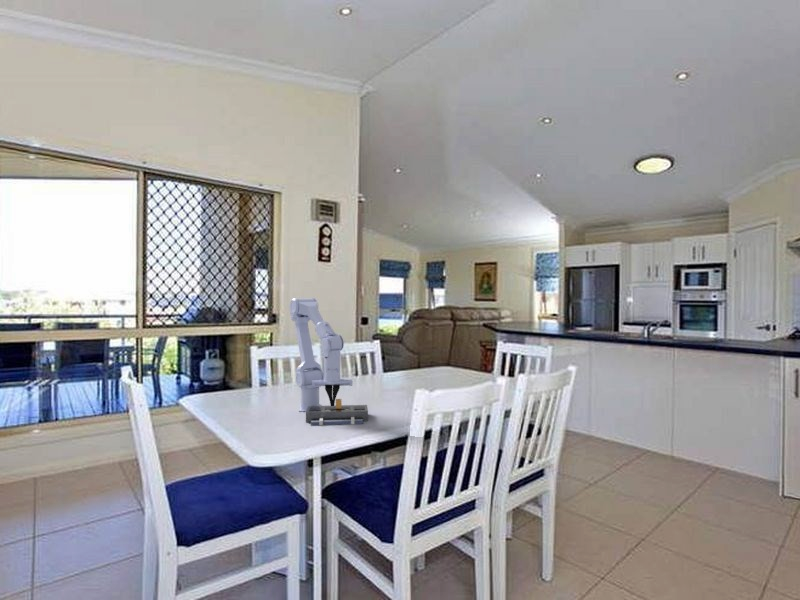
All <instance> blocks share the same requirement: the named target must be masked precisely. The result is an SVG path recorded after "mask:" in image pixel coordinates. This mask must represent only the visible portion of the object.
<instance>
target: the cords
mask: <svg viewBox="0 0 800 600" xmlns="http://www.w3.org/2000/svg"><path fill="white" fill-rule="evenodd" d="M363 422H364V421H363V419H354V417H351V419H327V420H323V418H320V419H319V420H311V422H310V426H327V425H328V426H329V425H331V426H332V425H361V424H364V423H363Z"/></svg>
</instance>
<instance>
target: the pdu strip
mask: <svg viewBox="0 0 800 600" xmlns="http://www.w3.org/2000/svg"><path fill="white" fill-rule="evenodd" d="M351 417H354V419H363V422H368V421H369V410H368V404H346V405H342V404H341V409H336V405H334V406H331V405H321V406H308V408H307V411H306V412H305V423H311V420H319V419H320V418H323V420H327V419H351Z"/></svg>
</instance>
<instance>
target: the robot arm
mask: <svg viewBox="0 0 800 600" xmlns="http://www.w3.org/2000/svg"><path fill="white" fill-rule="evenodd" d="M289 311H290V318H291V319H290V320H291V321H293V322H294V327H295V332H296V340H297V344H298V345H297V346H298V350H299V356H300V357H299V358H300V364H299V365H298V366H297V367H296V368H295V382H296V385H297V386H298V387H299V388H300V407H299V409H298V412H299V413H300V412H301V413H303V412H305V413H306V411H307V408H308V406H322V404H321V403H320V387H324V389H325V392H326V394H327V396H328V399H329V403H330V405H329V406H335V404H336V399H337V396H338V393H339V391H340V388H341V386H349V387H351V386H352V387H353V379H345V378H341V351H342V350H343V349H344V344H345V343H344V342H345V341H344V338H343V335H341V334H338V333H336V332H335V331H334V329H333V328H332V326H331V325H330V323H329V322H328V321H325V320H324V319H323V316H322V314H321V313H320V310H319V302H318V300H317V299H316V298H315V297H310V298H309V297H307V298H296V297H294V298H292V299H291V301H290V303H289ZM310 321H311V322H312V323H313V324H314V326H315V327H314V331H315V332H316V335H317V336H318V338H319V340H320V341H321V346H320V347H321V349H322V355H323V357H324V371H323V369H322V367H321V364H320V363H318V362H317V361H315V358H314V350H313V346H312V340H311V335H310V330H309V322H310Z"/></svg>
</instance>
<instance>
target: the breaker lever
mask: <svg viewBox="0 0 800 600" xmlns="http://www.w3.org/2000/svg"><path fill="white" fill-rule="evenodd" d="M341 405H342V398H336V399H335V406H336V409H341Z"/></svg>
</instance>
